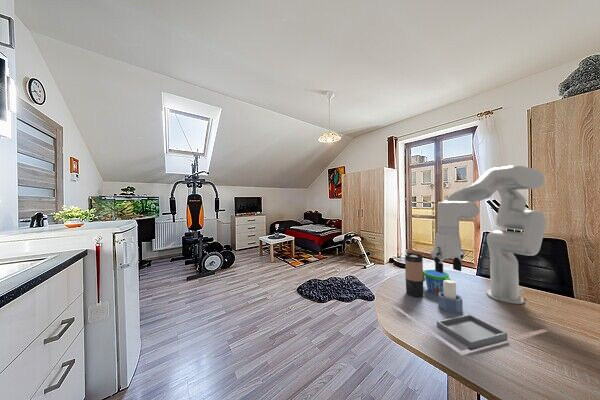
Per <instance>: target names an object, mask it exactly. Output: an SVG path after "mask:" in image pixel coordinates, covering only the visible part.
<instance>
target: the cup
mask: <svg viewBox="0 0 600 400" xmlns="http://www.w3.org/2000/svg"><path fill="white" fill-rule="evenodd" d="M437 297H438V300H437V301H438V308H439V309H442V310H443V311H444V312H446V313H452V314H461V313H464V312H463V311H464V310H463V309H464V308H463V304H464V303H463V298H462V296H461V295H459V294H456V300H452V299H447V298H445V297H444V292H439V293H438V294H437Z"/></svg>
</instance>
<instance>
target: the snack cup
mask: <svg viewBox="0 0 600 400" xmlns="http://www.w3.org/2000/svg"><path fill="white" fill-rule="evenodd" d="M444 280H450V281H452V280H451V278H450V276H449V274H448V273H447V272H445V271H443V273H439V272H437V271H435V269H425V270H423V282H425V283H426V289H427V291H428V292H429V293H431V294H434V295H438V293H439V292H444V291H443V281H444Z"/></svg>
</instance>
